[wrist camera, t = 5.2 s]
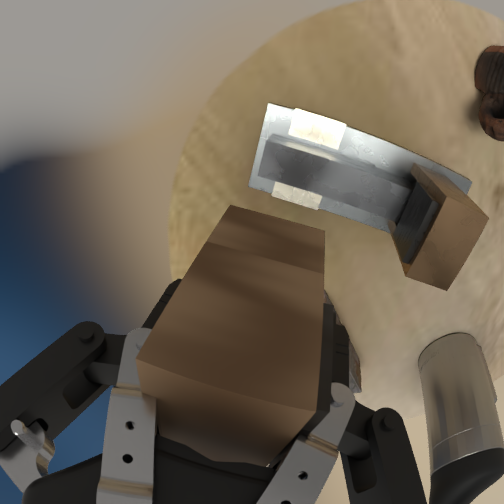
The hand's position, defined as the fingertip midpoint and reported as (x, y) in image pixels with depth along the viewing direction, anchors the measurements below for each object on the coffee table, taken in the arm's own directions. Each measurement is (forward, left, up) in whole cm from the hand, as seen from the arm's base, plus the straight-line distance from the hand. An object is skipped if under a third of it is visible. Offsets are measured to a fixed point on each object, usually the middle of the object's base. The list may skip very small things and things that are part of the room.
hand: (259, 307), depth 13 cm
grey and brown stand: (-6, -2, -18) cm, 19 cm away
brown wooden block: (0, 0, -2) cm, 2 cm away
